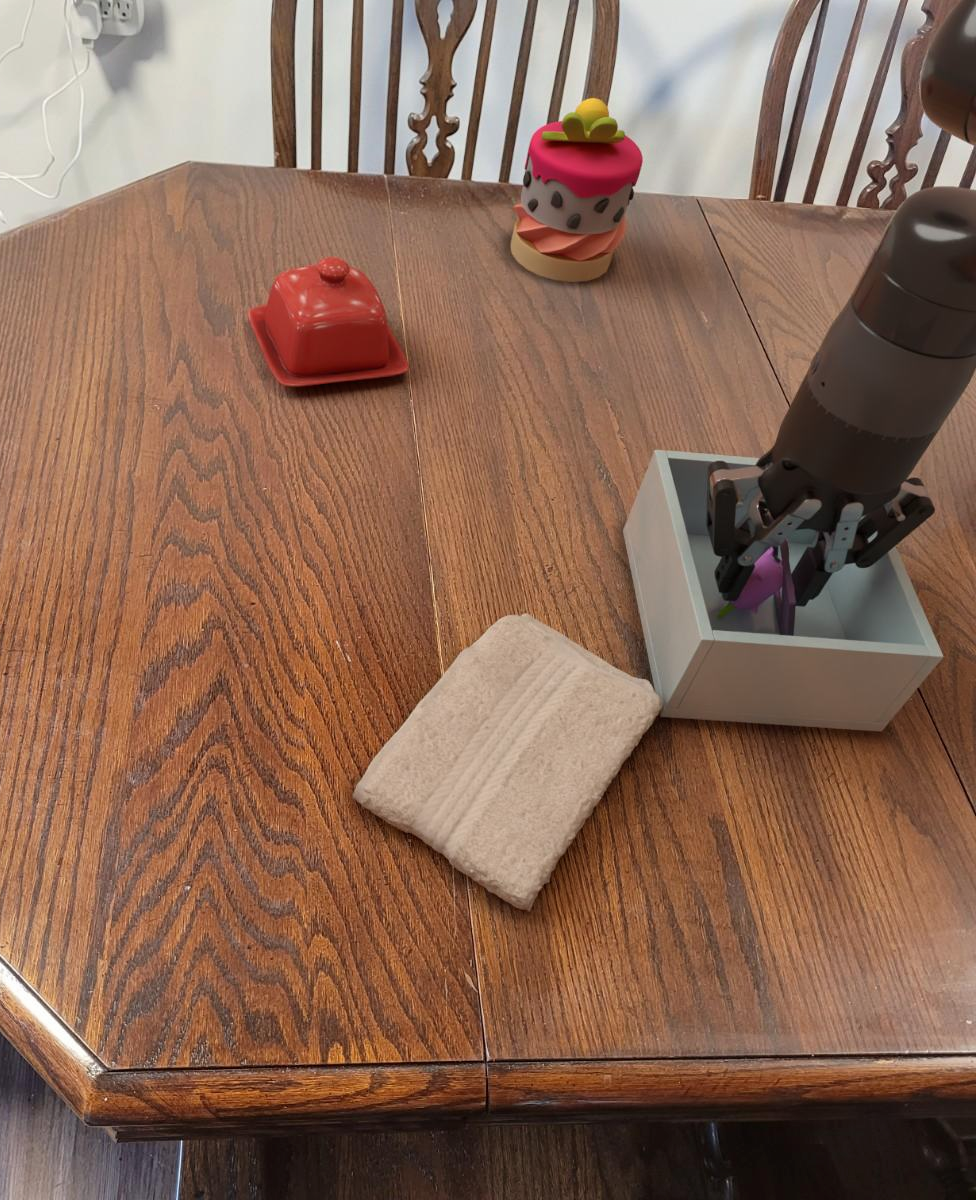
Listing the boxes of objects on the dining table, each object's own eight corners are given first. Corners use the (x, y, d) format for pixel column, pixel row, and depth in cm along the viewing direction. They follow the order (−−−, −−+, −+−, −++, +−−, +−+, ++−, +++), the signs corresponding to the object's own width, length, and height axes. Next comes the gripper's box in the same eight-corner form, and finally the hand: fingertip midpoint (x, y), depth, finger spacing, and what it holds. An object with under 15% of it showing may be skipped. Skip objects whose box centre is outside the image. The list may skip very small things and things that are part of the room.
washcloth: (661, 711, 67) (677, 683, 64) (526, 928, 56) (538, 903, 54) (501, 620, 70) (510, 590, 68) (346, 808, 60) (351, 779, 57)
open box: (813, 546, 78) (861, 466, 72) (881, 732, 67) (944, 656, 61) (622, 531, 77) (654, 448, 71) (659, 717, 66) (701, 639, 60)
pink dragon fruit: (809, 601, 63) (791, 501, 69) (718, 606, 65) (709, 507, 71) (803, 670, 68) (787, 571, 74) (719, 673, 70) (710, 575, 75)
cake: (497, 224, 104) (528, 69, 93) (598, 227, 106) (641, 75, 95) (517, 283, 98) (554, 124, 86) (625, 286, 99) (675, 130, 88)
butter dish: (369, 305, 93) (379, 217, 86) (412, 385, 86) (426, 295, 80) (243, 319, 90) (243, 228, 83) (277, 403, 83) (280, 310, 76)
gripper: (767, 421, 54) (665, 630, 67) (1030, 444, 55) (879, 646, 68) (736, 335, 59) (647, 545, 72) (978, 358, 60) (847, 561, 73)
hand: (761, 593), depth 70 cm, fingers closed on pink dragon fruit, 4 cm apart
